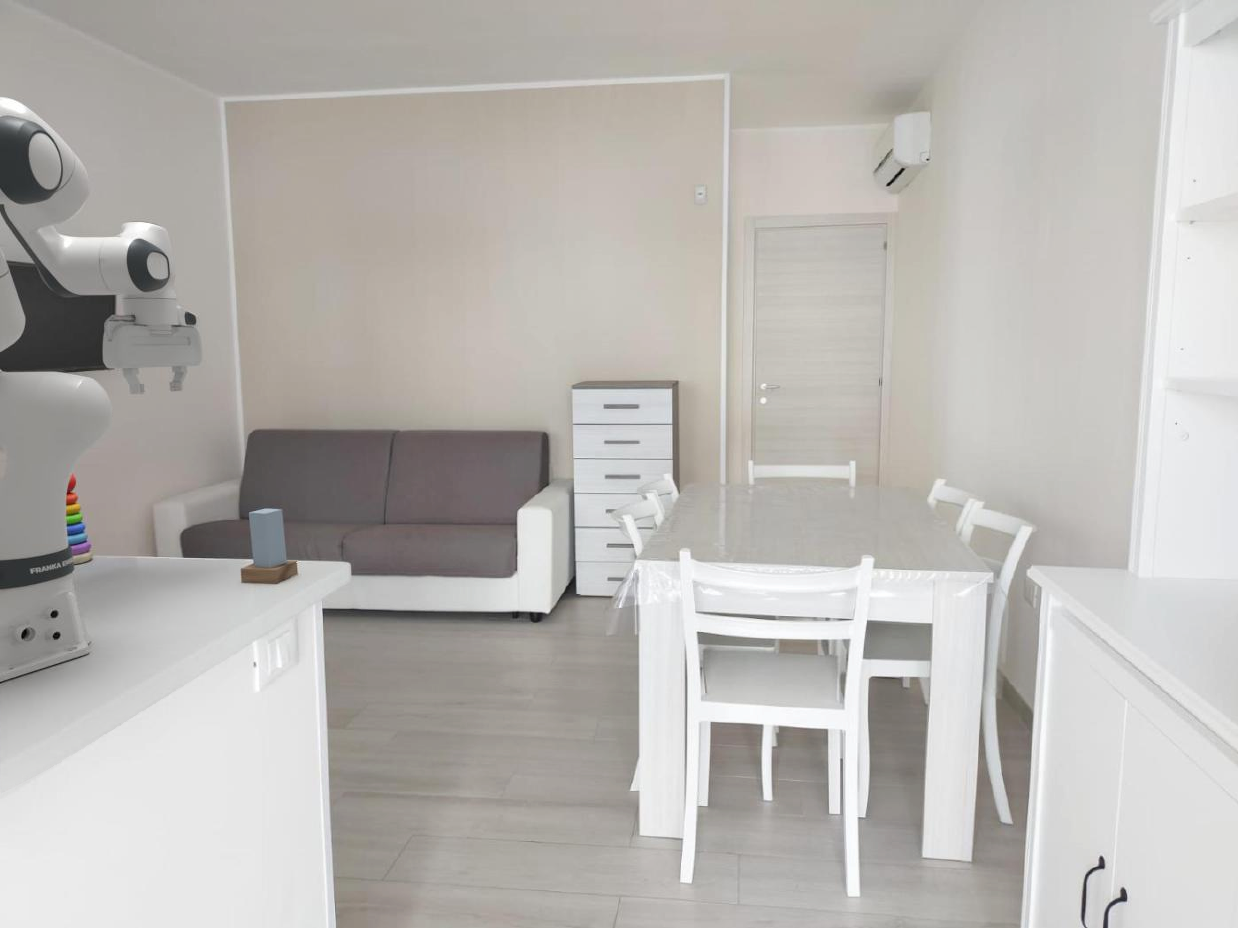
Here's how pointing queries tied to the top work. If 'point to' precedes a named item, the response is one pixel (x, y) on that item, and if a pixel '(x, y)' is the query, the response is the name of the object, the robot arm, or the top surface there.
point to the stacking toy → (76, 527)
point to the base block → (268, 573)
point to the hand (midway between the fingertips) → (157, 392)
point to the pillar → (267, 538)
